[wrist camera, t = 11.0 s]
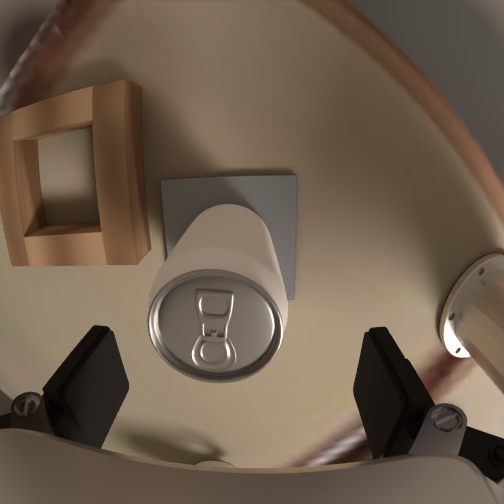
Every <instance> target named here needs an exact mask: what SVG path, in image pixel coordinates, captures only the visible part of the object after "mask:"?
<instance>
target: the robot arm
mask: <svg viewBox="0 0 504 504" xmlns="http://www.w3.org/2000/svg"><path fill="white" fill-rule="evenodd" d="M440 338H441V342H442V343H443V345H444V347H445V348H446V349H447V350H448V352H449V353H450V354H452V355H453V356H456V357H469V356H471V357H472V358H473V359H474V360H475V361H476V363H477V364H478V365H479V366H480V367H481V368H482V370H483V371H484V372H485V373H486V374H487V375H488V377H489V378H490V379H491V380H492V381H493V383H494V384H495V385H496V386H497V388H498V389H499V390H500V391H501V393H502V394H503V395H504V255H503V254H500V253H494V254H490V255H486V256H484V257H482V258H481V259H479V260H477V261H476V262H475V263H474V264H472V265H471V266H470V267H469V268H468V269H467V270H466V271H465V272H464V273H463V274H462V276H461V277H460V278H459V280H458V281H457V283H456V284H455V285H454V287H453V289H452V291H451V292H450V294H449V296H448V298H447V301H446V303H445V305H444V308H443V312H442V315H441V320H440ZM42 390H43V391H44V394H43V395H42V396H41V395H40V394H38V393H36V392H25V393H23V394H20V395H19V396H17V397H16V398H15V399H14V400H13V401H12V403H11V407H10V413H8V414H5V415H2V416H0V504H504V439H503V438H500V437H497V436H494V435H491V434H488V433H485V432H483V431H480V430H477V429H474V428H471V427H468V426H467V417H466V415H465V413H464V412H463V410H461V409H460V408H459V407H457V406H455V405H453V404H448V403H441V404H437V405H435V404H434V402H433V400H432V398H431V397H430V395H429V393H428V391H427V390H426V388H425V386H424V385H423V383H422V381H421V379H420V378H419V376H418V374H417V373H416V371H415V369H414V368H413V366H412V364H411V363H410V361H409V360H408V359H405V357H404V355H403V354H402V352H401V350H400V349H399V347H398V345H397V344H396V342H395V341H394V339H393V337H392V336H391V334H390V333H389V331H388V329H387V328H386V327H374V328H370V329H369V332H365V334H364V338H363V343H362V349H361V354H360V359H359V363H358V368H357V373H356V377H355V382H354V386H353V394H354V397H355V400H356V404H357V407H358V410H359V413H360V416H361V419H362V422H363V426H364V429H365V432H366V435H367V439H368V442H369V445H370V449H371V452H372V456H373V460H366V461H359V462H352V463H343V464H334V465H324V466H312V467H296V468H227V467H211V466H199V465H189V464H181V463H173V462H166V461H159V460H153V459H147V458H141V457H136V456H131V455H126V454H121V453H117V452H112V451H108V450H104V449H101V447H102V445H103V443H104V440H105V438H106V436H107V434H108V432H109V430H110V428H111V426H112V424H113V421H114V419H115V417H116V415H117V413H118V411H119V409H120V407H121V405H122V403H123V401H124V399H125V397H126V395H127V393H128V390H129V382H128V379H127V376H126V373H125V369H124V366H123V363H122V360H121V356H120V353H119V350H118V346H117V343H116V339H115V335H114V332H113V331H112V330H110V328H109V327H107V326H98V325H94V326H93V327H92V328H91V329H90V330H89V331H88V333H87V334H86V335H85V336H84V337H83V339H82V340H81V341H80V342H79V343H78V345H77V346H76V347H75V348H74V349H73V351H72V352H71V353H70V354H69V356H68V357H67V358H66V359H65V361H64V362H63V363H62V364H61V366H60V367H59V368H58V369H57V371H56V372H55V373H54V374H53V376H52V377H51V378H50V379H49V381H48V382H47V383H46V385H45V386H44V387H43V389H42Z"/></svg>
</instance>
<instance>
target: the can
mask: <svg viewBox="0 0 504 504" xmlns="http://www.w3.org/2000/svg"><path fill="white" fill-rule="evenodd" d="M287 318H288V302H287V296H286V291H285V287H284V283H283V279H282V275H281V271H280V268H279V264H278V260H277V257H276V253H275V249H274V246H273V242H272V239H271V236H270V233H269V230H268V228H267V226H266V225H265V223H264V222H263V220H262V219H261V218H260V217H259V216H258V215H257V214H256V213H254V212H253V211H251V210H250V209H248V208H245V207H243V206H240V205H235V204H221V205H217V206H213V207H211V208H209V209H207V210H205V211H204V212H202V213H201V214H200V215H199V216H197V218H196V219H195V220H194V221H193V222H192V224H191V225H190V226H189V228H188V229H187V230H186V232H185V233H184V235H183V236H182V237H181V239H180V240H179V242H178V243H177V245H176V246H175V247H174V249H173V250H172V252H171V253H170V255H169V256H168V258H167V259H166V261H165V262H164V264H163V266H162V267H161V269H160V270H159V272H158V274H157V276H156V277H155V279H154V282H153V284H152V287H151V290H150V294H149V312H148V332H149V336H150V339H151V341H152V344H153V346H154V348H155V349H156V351H157V352H158V354H159V355H160V356H161V358H162V359H163V360H164V361H165V362H166V363H167V364H168V365H170V366H171V367H172V368H174V369H175V370H177V371H178V372H180V373H182V374H183V375H186V376H188V377H190V378H193V379H196V380H199V381H204V382H210V383H229V382H235V381H240V380H243V379H246V378H249V377H251V376H253V375H255V374H257V373H258V372H260V371H261V370H262V369H264V368H265V367H266V366H267V365H268V364H269V363H270V362H271V361H272V360H273V358H274V357H275V356H276V354H277V352H278V350H279V348H280V345H281V342H282V337H283V332H284V330H285V327H286V323H287Z"/></svg>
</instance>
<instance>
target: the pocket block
mask: <svg viewBox="0 0 504 504" xmlns="http://www.w3.org/2000/svg"><path fill="white" fill-rule="evenodd" d="M91 126H93V151H94V167H95V180H96V190H97V200H98V208H99V217H100V222H92V223H79V224H67V225H55V226H46V223H45V217H44V210H43V203H42V195H41V186H40V176H39V163H38V146H37V139H41V138H44V137H48V136H52V135H56V134H60V133H64V132H68V131H73V130H77V129H82V128H87V127H91ZM0 209H1V215H2V221H3V227H4V233H5V238H6V243H7V247H8V252H9V256H10V261H11V265H12V266H77V265H138V264H139V262H140V261H141V260H142V259H143V258H144V257H145V256H146V254H147V253H148V252H149V251H150V250H151V242H150V234H149V225H148V215H147V205H146V193H145V181H144V166H143V147H142V117H141V87H139V86H137V85H135V84H133V83H132V82H130V81H128V80H126V79H122V80H117V81H112V82H108V83H103V84H99V85H95V86H91V87H87V88H83V89H79V90H76V91H72V92H68V93H65V94H62V95H58V96H55V97H52V98H49V99H46V100H43V101H40V102H37V103H34V104H31V105H28V106H26V107H23V108H20V109H18V110H15V111H12V112H10V113H7V114H5V115H3V116H0Z"/></svg>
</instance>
